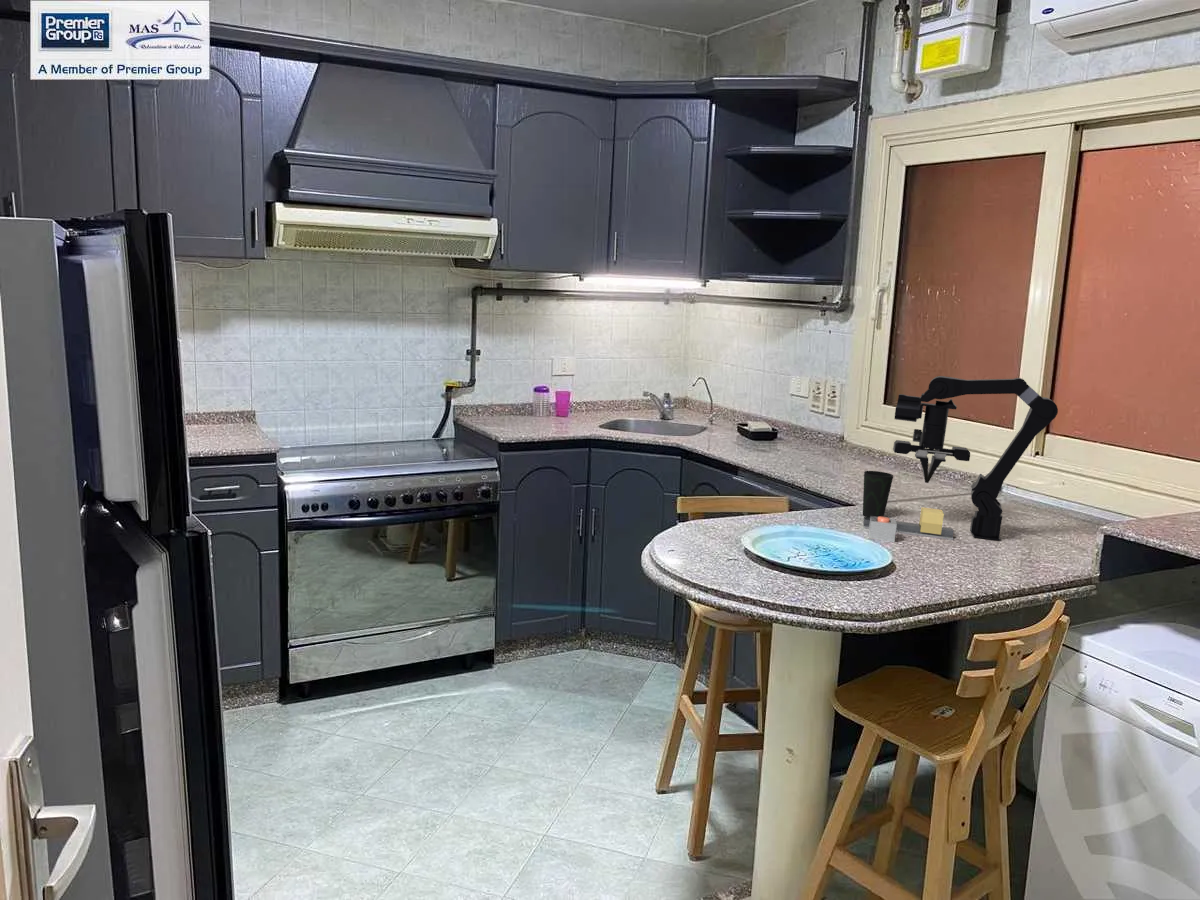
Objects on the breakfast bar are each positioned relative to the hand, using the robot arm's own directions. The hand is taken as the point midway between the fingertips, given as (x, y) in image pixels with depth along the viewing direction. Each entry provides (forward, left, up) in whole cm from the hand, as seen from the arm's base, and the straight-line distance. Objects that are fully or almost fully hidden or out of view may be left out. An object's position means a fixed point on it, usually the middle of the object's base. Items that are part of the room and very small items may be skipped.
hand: (926, 482), depth 247 cm
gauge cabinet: (+11, +19, -12) cm, 25 cm away
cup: (+12, -5, -12) cm, 18 cm away
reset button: (+11, +19, -9) cm, 24 cm away
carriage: (-1, +8, -12) cm, 14 cm away
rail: (+4, +8, -12) cm, 15 cm away
